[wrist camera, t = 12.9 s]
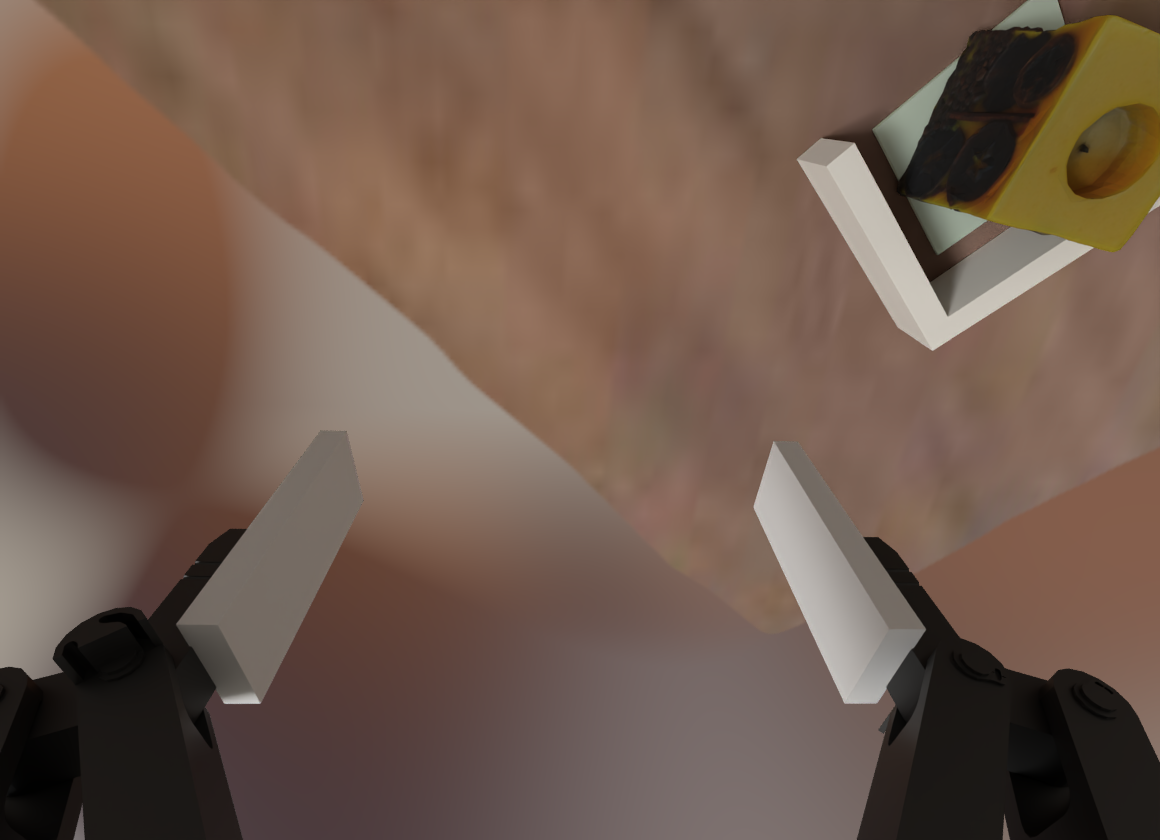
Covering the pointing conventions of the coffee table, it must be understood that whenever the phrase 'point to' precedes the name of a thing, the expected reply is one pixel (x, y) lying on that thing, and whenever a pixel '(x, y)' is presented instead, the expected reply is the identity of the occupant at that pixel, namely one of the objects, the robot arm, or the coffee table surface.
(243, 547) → the robot arm
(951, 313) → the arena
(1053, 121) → the candle
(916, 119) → the pad
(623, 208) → the coffee table surface
